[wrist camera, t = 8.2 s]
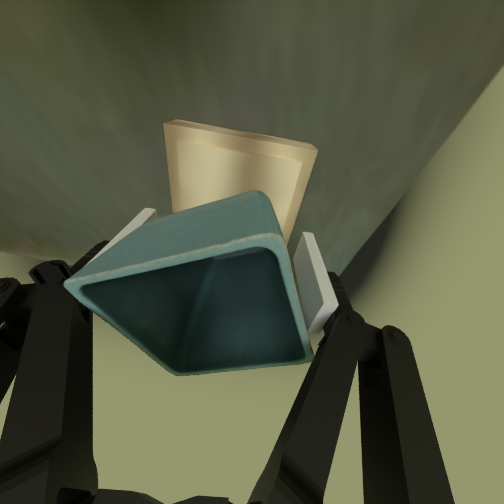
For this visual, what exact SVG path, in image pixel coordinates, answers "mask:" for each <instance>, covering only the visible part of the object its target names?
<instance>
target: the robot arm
mask: <svg viewBox="0 0 504 504" xmlns="http://www.w3.org/2000/svg"><path fill="white" fill-rule="evenodd" d="M156 218H157V212H156V209H150V208H145V209H144V210H143V211H142V212H140V213H139V214H138V215H137V216H136V217H135V218H134V219H133V220H132V221H131V222H130V223H129V224H128V225H127V226H126V227H125V228H124V229H123V230H122V231H121V232H120V233H119V234H118V235H117V236H115V237H114V238H113V239H112V240H111V241H106V240H105V241H103V242H101V243H99V244H97V245H95V246H94V247H93V248H92V249H91V250H90V252H88V253H87V254H85V256H83V257H82V258H81V259H80V260H79V261H78V262H76V263H75V264H74V265H73V266H72V267H71V268H69V266H68V265H67V263H66V262H64V261H61V260H51V261H47V262H43V263H41V264H39V265H36V266H35V267H34V268H32V269H31V270H30V272H29V275H30V276H31V278H32V279H33V280H34V282H35V283H33V284H23V285H21V283H20V282H19V281H18V280H17V279H15V278H1V279H0V326H1V324H2V323H3V325H2V326H1V327H0V404H1V401H2V400H3V398H4V396H5V394H6V392H7V390H8V389H9V387H10V385H11V383H12V381H13V379H14V377H15V375H16V378H15V382H14V386H13V390H12V394H11V399H10V403H9V407H8V411H7V415H6V419H5V423H4V427H3V431H2V435H1V439H0V504H164V503H162V502H160V501H158V500H156V499H154V498H153V497H151V496H149V495H147V494H144V493H139V492H134V491H124V490H110V489H98V474H97V467H96V464H95V461H94V457H93V312H92V311H91V310H90V309H88V308H87V307H86V306H85V305H83V304H82V303H81V302H79V301H78V299H76V298H75V297H74V296H73V295H72V294H71V293H70V292H69V291H68V290H67V289H66V288H65V287H64V286H63V285H64V282H65V281H66V280H67V279H68V278H70V277H71V276H73V275H74V274H75V273H77V272H78V271H79V270H81V269H82V268H83V267H85V266H86V265H87V264H89V263H90V262H91V261H93V260H94V259H95V258H97V257H98V256H99V255H101V254H102V253H103V252H105V251H106V250H108V249H109V248H110V247H112V246H113V245H114V244H116V243H117V242H118V241H120V240H121V239H122V238H124V237H125V236H127V235H128V234H129V233H131V232H132V231H133V230H135V229H136V228H138V227H140V226H141V225H143V224H145V223H147V222H149V221H151V220H154V219H156ZM293 261H294V267H295V272H296V277H297V283H298V288H299V294H300V299H301V304H302V310H303V315H304V320H305V325H306V329H307V332H311V333H320V331H321V330H322V329H324V333H325V335H324V337H323V338H322V340H321V341H320V342H319V344H318V345H319V347H318V349H317V352H316V354H315V356H314V358H313V361H312V363H311V365H310V367H309V370H308V372H307V374H306V376H305V379H304V381H303V383H302V385H301V388H300V390H299V392H298V395H297V397H296V399H295V401H294V404H293V406H292V408H291V411H290V413H289V415H288V417H287V419H286V422H285V424H284V426H283V428H282V431H281V433H280V435H279V437H278V440H277V442H276V444H275V446H274V449H273V451H272V453H271V455H270V458H269V460H268V462H267V464H266V467H265V469H264V471H263V473H262V474H261V476H260V478H259V479H258V481H257V483H256V485H255V487H254V489H253V492H252V494H251V496H250V498H249V500H248V503H247V504H323V497H324V492H325V488H326V484H327V480H328V476H329V472H330V468H331V464H332V460H333V456H334V452H335V448H336V444H337V440H338V436H339V433H340V429H341V424H342V421H343V417H344V413H345V409H346V405H347V401H348V397H349V393H350V388H351V385H352V381H353V377H354V372H355V369H356V365H357V361H358V376H359V400H360V422H361V444H362V445H361V446H362V469H363V494H364V504H455V503H454V499H453V495H452V492H451V488H450V484H449V481H448V477H447V473H446V470H445V466H444V463H443V459H442V455H441V452H440V448H439V444H438V441H437V437H436V433H435V430H434V426H433V423H432V419H431V415H430V412H429V408H428V404H427V401H426V397H425V393H424V390H423V386H422V382H421V379H420V376H419V371H418V368H417V364H416V360H415V357H414V353H413V350H412V346H411V343H410V340H409V338H408V337H407V336H406V335H405V333H403V332H402V331H401V330H400V329H398V328H396V327H394V326H390V325H387V326H384V327H383V328H382V329H379V328H377V327H375V326H372V325H369V324H367V323H365V321H364V319H363V318H362V316H361V315H360V314H358V313H357V312H355V311H353V308H352V306H351V304H350V301H349V299H348V297H347V294H346V292H345V290H344V287H343V286H342V282H341V280H340V278H339V277H338V276H337V275H336V274H335V272H328V271H326V268H325V266H324V263H323V260H322V257H321V255H320V252H319V249H318V246H317V244H316V241H315V238H314V235H313V233H308V232H303V233H302V236H301V239H300V242H299V244H298V247H297V250H296V253H295V255H294V258H293ZM228 499H229V498H225V497H210V496H195V497H192V498H189V499H186V500H183V501H180V502H177V503H174V504H233V503H231V502H229V501H228Z"/></svg>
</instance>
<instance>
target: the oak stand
mask: <svg viewBox="0 0 504 504" xmlns="http://www.w3.org/2000/svg"><path fill="white" fill-rule="evenodd" d="M164 133H165V142H166V152H167V161H168V171H169V180H170V190H171V199H172V209H173V213H175V212H179V211H183V210H186V209H190V208H193V207H197V206H200V205H204V204H207V203H210V202H214V201H217V200H221V199H224V198H228V197H231V196H235V195H238V194H241V193H244V192H248V191H253V190H258V191H262V192H263V193H265V194H266V195H267V196H268V197H269V199H270V201H271V203H272V206H273V208H274V211H275V214H276V216H277V219H278V222H279V225H280V228H281V230H282V234H283V237H284V240H285V243H286V246H287V245H288V242H289V239H290V236H291V232H292V229H293V226H294V223H295V220H296V217H297V214H298V211H299V208H300V205H301V202H302V198H303V195H304V192H305V189H306V186H307V183H308V180H309V177H310V174H311V171H312V168H313V164H314V161H315V158H316V155H317V152H318V150H317V149H316V148H315V147H314V146H313V145H312V144H311V143H307V142H301V141H296V140H290V139H284V138H279V137H273V136H268V135H262V134H256V133H251V132H245V131H240V130H234V129H229V128H223V127H217V126H212V125H206V124H201V123H195V122H190V121H184V120H178V119H176V120H172V121H169V122H166V123H164Z"/></svg>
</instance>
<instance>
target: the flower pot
mask: <svg viewBox="0 0 504 504" xmlns="http://www.w3.org/2000/svg"><path fill="white" fill-rule="evenodd" d="M63 286H64V287H65V288H66V289H67V290H68V291H69V292H70V293H71V294H72V295H73V296H74V297H75V298H76V299H78V301H79V302H81V303H82V304H83V305H85V306H86V307H87V308H88V309H90V310H91V311H92V312H93V313H95V314H96V315H98V316H99V317H101V318H102V319H103V320H105V322H107V323H109V324H110V325H111V326H112V327H114V328H115V329H116V330H118V331H119V332H120V333H121V334H122V335H124V336H125V337H126V338H127V339H129V340H130V341H131V342H133V343H134V344H135V345H137V346H138V347H139V348H140V349H141V350H142V351H144V352H145V353H146V354H147V355H148V356H149V357H151V358H152V359H153V360H154V361H156V362H157V363H158V364H159V365H160V366H162V367H163V368H164V369H166V370H167V371H168V372H170V373H172V374H174V375H176V376H189V375H200V374H209V373H217V372H227V371H236V370H246V369H255V368H265V367H276V366H287V365H299V364H304V363H309V362H312V361H313V358H314V353H313V350H312V347H311V344H310V340H309V336H308V333H307V329H306V325H305V321H304V317H303V313H302V309H301V305H300V302H299V298H298V294H297V290H296V286H295V281H294V277H293V272H292V269H291V263H290V258H289V254H288V250H287V246H286V243H285V240H284V237H283V234H282V230H281V228H280V225H279V222H278V219H277V216H276V214H275V211H274V208H273V206H272V203H271V201H270V199H269V197H268V196H267V195H266V194H265V193H263V192H262V191H258V190H253V191H248V192H244V193H241V194H238V195H235V196H231V197H228V198H224V199H221V200H217V201H214V202H210V203H207V204H204V205H200V206H197V207H193V208H190V209H186V210H183V211H179V212H175V213H171V214H168V215H165V216H162V217H159V218H156V219H154V220H151V221H149V222H147V223H145V224H143V225H141V226H140V227H138V228H136V229H135V230H133V231H132V232H131V233H129V234H128V235H127V236H125V237H124V238H122V239H121V240H120V241H118V242H117V243H116V244H114V245H113V246H112V247H110V248H109V249H108V250H106V251H105V252H103V253H102V254H101V255H99V256H98V257H97V258H95V259H94V260H93V261H91V262H90V263H89V264H87V265H86V266H85V267H83V268H82V269H81V270H79V271H78V272H77V273H75V274H74V275H73V276H71V277H70V278H68V279H67V280H66V281H65V282H64V285H63Z"/></svg>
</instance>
